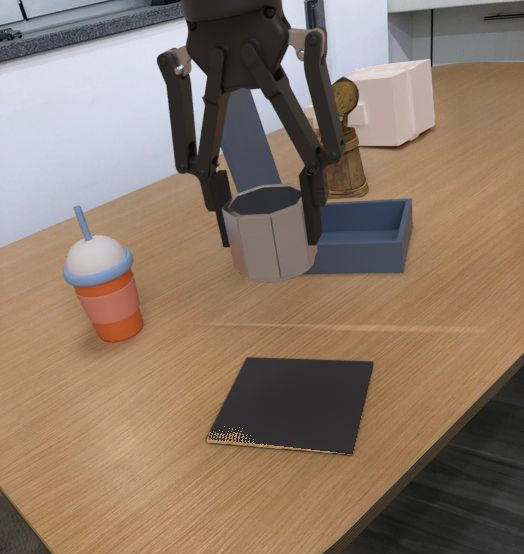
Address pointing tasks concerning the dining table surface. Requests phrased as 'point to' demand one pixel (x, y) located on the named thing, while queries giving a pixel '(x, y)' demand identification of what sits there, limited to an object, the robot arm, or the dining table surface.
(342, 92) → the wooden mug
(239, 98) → the lid
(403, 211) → the blue storage box
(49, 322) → the dining table surface
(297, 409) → the mat
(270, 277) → the octagonal metal cup
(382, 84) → the blocky voxel creature
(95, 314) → the cup with straw
